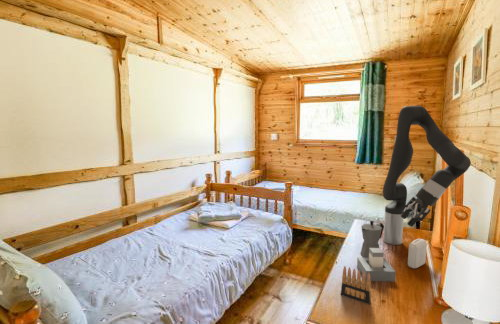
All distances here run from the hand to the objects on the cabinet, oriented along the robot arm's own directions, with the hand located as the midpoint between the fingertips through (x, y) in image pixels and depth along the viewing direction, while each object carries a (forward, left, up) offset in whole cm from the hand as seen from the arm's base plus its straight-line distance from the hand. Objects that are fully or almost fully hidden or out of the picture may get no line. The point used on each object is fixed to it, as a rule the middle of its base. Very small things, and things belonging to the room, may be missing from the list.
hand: (405, 221), depth 124 cm
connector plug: (+3, -13, -22) cm, 26 cm away
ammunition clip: (+21, -27, -23) cm, 42 cm away
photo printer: (-5, +9, -23) cm, 25 cm away
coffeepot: (-15, -8, -23) cm, 29 cm away
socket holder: (+3, -13, -23) cm, 27 cm away
